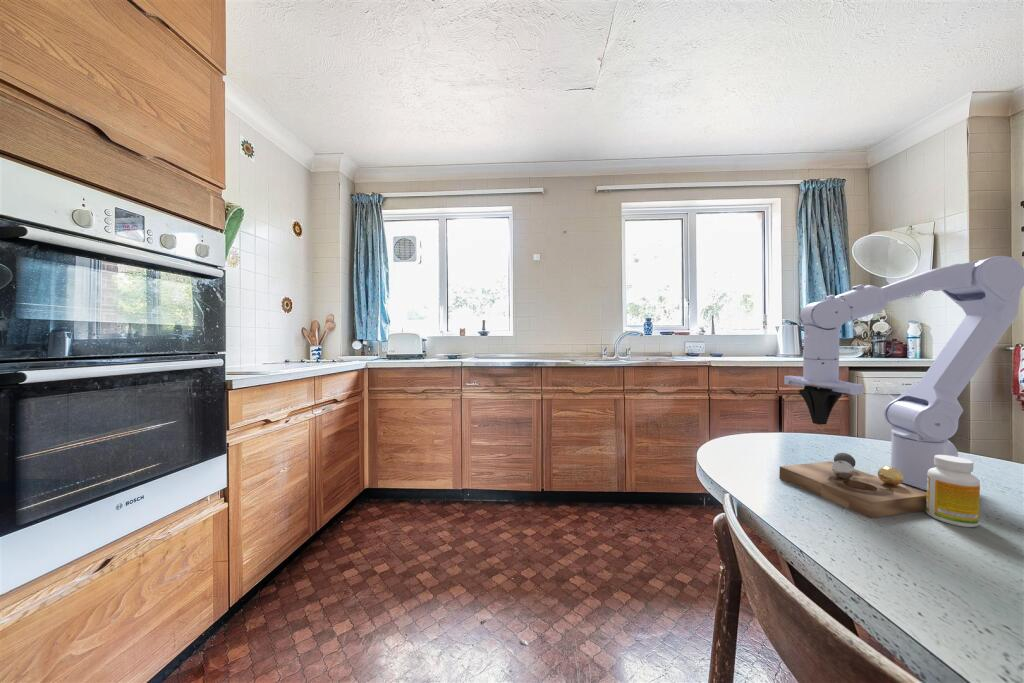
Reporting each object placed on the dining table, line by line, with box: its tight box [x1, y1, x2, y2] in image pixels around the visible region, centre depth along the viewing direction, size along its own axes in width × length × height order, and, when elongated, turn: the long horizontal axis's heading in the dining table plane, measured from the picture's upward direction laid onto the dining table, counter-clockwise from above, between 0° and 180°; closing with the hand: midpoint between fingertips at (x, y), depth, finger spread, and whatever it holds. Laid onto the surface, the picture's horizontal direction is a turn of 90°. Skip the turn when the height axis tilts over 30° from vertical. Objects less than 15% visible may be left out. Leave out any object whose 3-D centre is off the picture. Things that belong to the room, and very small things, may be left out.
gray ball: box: [833, 452, 856, 469], centre depth 73 cm, size 3×3×3 cm
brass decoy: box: [877, 465, 903, 486], centre depth 66 cm, size 3×3×3 cm
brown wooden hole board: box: [778, 461, 927, 519], centre depth 68 cm, size 13×16×2 cm
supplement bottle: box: [925, 455, 981, 528], centre depth 59 cm, size 5×5×10 cm
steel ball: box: [832, 461, 855, 479], centre depth 69 cm, size 3×3×3 cm
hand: (819, 423), depth 78 cm, fingers closed
